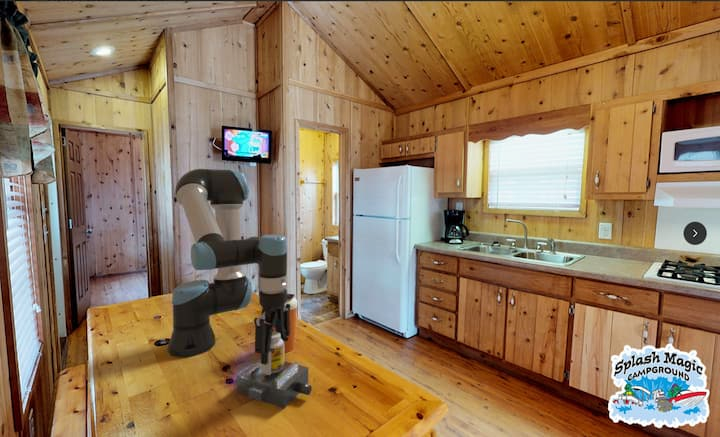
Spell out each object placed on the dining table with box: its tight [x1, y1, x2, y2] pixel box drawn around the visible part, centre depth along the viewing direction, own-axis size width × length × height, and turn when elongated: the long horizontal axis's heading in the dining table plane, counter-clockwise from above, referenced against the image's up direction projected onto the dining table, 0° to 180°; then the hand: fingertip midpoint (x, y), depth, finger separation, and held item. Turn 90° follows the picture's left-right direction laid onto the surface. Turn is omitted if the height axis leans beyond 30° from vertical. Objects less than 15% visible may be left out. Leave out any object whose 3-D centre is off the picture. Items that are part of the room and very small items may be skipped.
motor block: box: [236, 358, 313, 409], centre depth 90 cm, size 20×14×6 cm
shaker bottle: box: [273, 293, 298, 353], centre depth 115 cm, size 9×9×20 cm
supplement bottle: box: [269, 331, 283, 373], centre depth 91 cm, size 6×6×10 cm
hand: (273, 367), depth 91 cm, fingers closed on supplement bottle, 6 cm apart
